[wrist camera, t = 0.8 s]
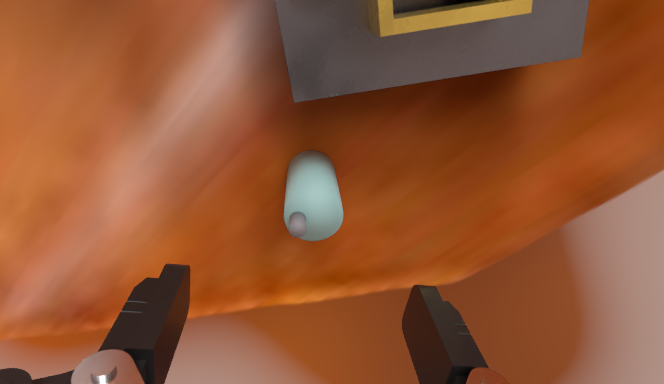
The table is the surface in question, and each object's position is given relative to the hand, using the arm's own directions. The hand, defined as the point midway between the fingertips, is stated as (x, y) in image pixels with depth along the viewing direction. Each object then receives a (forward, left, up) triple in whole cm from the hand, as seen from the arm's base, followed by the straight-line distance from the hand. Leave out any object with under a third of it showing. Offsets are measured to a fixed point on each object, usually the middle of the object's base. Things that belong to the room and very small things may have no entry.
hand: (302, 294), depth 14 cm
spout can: (0, +5, -22) cm, 22 cm away
